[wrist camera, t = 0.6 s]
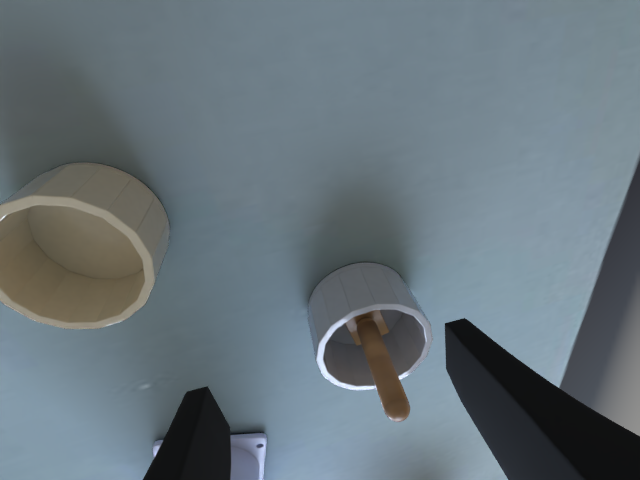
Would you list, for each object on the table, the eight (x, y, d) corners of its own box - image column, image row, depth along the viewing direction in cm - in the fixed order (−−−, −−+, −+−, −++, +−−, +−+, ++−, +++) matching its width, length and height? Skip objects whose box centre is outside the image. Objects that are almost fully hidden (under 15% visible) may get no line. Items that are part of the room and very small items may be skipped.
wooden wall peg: (384, 320, 24) (432, 428, 18) (352, 333, 24) (388, 445, 18) (368, 284, 22) (415, 390, 16) (334, 299, 22) (367, 409, 16)
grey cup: (395, 341, 26) (415, 387, 22) (302, 343, 24) (310, 393, 21) (418, 262, 23) (446, 303, 19) (314, 260, 21) (325, 304, 18)
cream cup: (174, 279, 21) (159, 328, 17) (42, 278, 19) (0, 330, 16) (165, 167, 17) (145, 201, 14) (7, 156, 16) (-54, 191, 13)
